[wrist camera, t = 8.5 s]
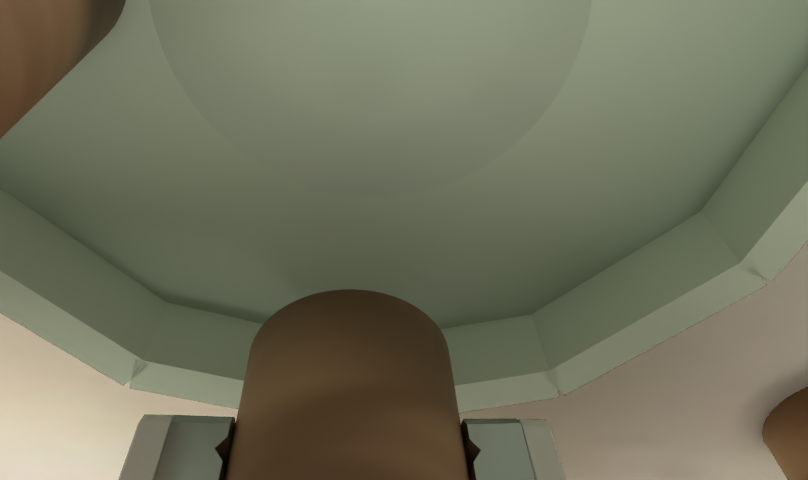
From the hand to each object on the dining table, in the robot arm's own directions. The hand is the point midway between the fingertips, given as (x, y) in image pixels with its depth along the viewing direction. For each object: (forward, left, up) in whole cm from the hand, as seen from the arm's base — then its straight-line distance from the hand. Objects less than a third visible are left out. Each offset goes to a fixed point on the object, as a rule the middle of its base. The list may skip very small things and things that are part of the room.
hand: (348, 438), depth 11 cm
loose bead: (0, 0, -2) cm, 2 cm away
